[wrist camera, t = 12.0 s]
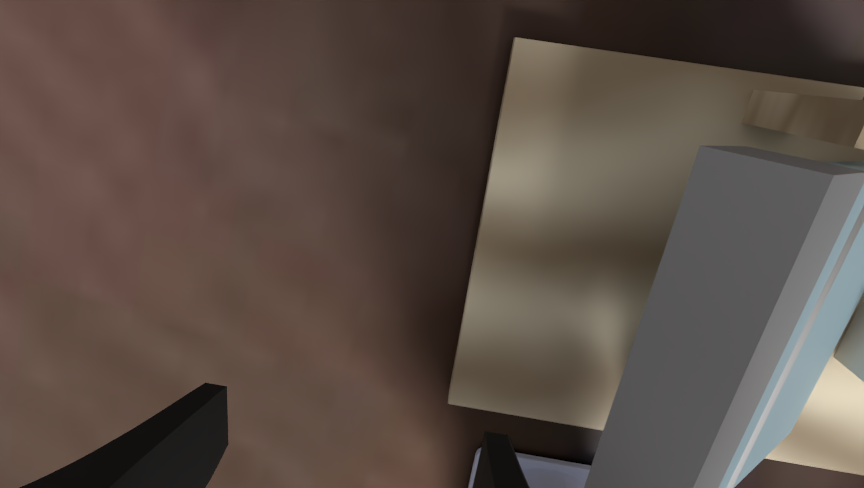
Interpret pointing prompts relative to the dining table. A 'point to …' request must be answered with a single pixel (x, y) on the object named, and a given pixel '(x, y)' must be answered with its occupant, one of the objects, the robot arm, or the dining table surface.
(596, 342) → the beige slab
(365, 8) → the dining table surface
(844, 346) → the limestone block
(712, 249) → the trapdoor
